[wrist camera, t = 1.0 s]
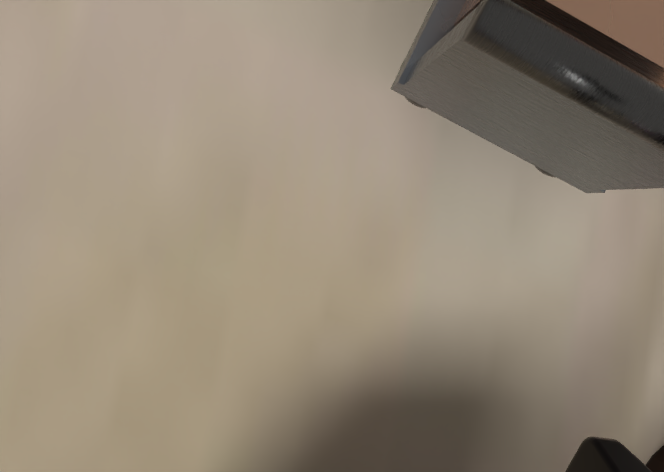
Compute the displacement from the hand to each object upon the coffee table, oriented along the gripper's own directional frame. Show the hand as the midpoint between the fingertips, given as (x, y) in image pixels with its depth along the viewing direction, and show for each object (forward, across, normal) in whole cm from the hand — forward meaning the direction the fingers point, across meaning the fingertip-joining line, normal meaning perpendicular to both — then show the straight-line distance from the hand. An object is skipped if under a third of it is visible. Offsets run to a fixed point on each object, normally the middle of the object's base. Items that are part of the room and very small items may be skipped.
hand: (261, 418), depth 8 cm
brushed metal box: (+19, -8, -2) cm, 20 cm away
